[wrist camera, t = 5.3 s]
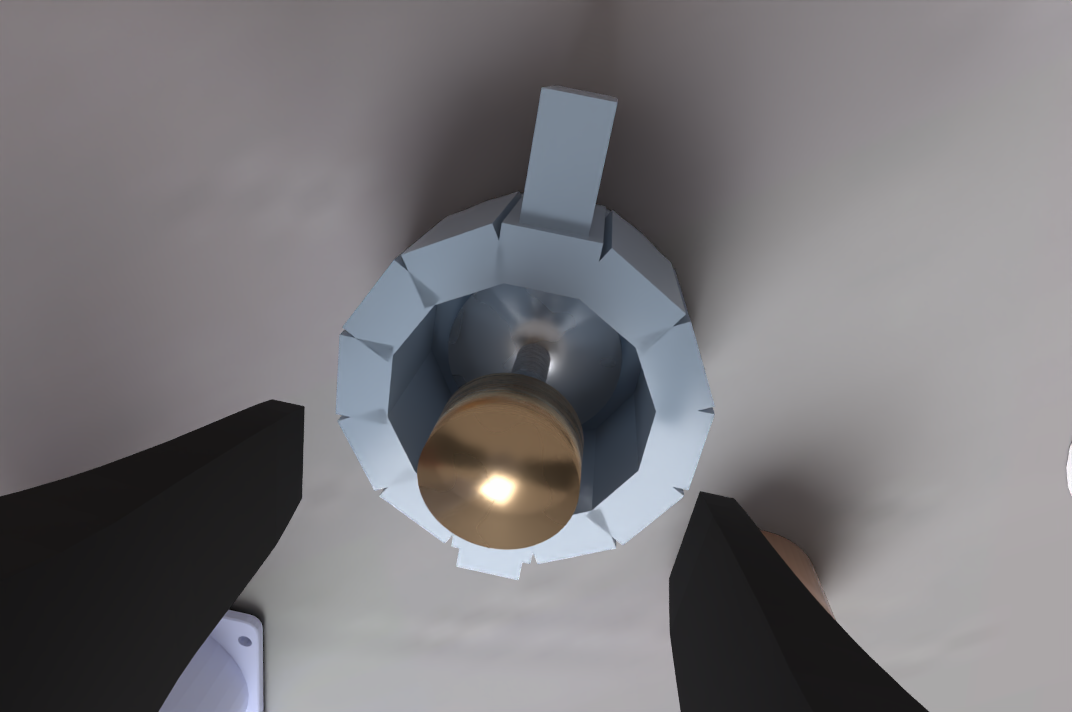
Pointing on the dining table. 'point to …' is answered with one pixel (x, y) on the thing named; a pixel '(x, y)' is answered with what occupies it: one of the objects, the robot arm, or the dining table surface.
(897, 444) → the dining table surface
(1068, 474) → the champagne flute
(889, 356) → the dining table surface
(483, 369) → the plunger
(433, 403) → the press pot
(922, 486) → the dining table surface
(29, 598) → the robot arm
